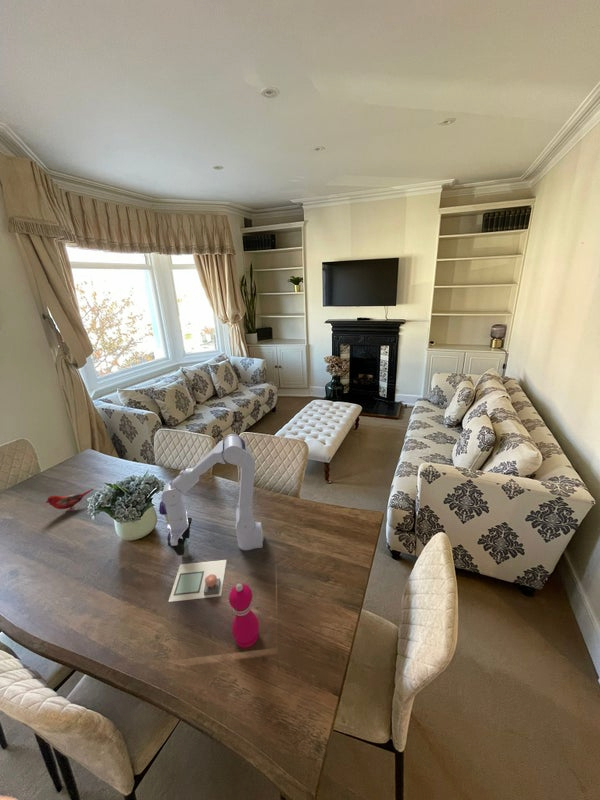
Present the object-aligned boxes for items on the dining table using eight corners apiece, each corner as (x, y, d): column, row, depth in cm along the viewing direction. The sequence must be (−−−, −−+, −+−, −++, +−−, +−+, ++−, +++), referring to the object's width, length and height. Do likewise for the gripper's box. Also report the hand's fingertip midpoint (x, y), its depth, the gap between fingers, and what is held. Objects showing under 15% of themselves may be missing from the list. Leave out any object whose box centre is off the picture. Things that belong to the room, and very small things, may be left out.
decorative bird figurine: (50, 516, 142) (43, 497, 139) (96, 498, 153) (90, 480, 149) (51, 519, 140) (43, 500, 137) (97, 501, 151) (91, 483, 147)
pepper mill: (235, 626, 93) (226, 574, 86) (260, 623, 93) (253, 571, 86) (232, 653, 86) (222, 599, 79) (259, 650, 87) (252, 596, 80)
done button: (218, 580, 105) (217, 573, 104) (216, 589, 102) (215, 583, 101) (207, 581, 105) (206, 575, 104) (205, 591, 101) (203, 584, 100)
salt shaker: (191, 553, 119) (188, 538, 116) (189, 560, 116) (186, 544, 114) (183, 554, 119) (179, 539, 116) (181, 561, 116) (177, 545, 113)
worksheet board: (226, 561, 114) (226, 556, 114) (221, 598, 101) (220, 592, 101) (180, 566, 114) (179, 561, 113) (169, 604, 100) (167, 598, 100)
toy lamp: (174, 542, 124) (166, 506, 119) (163, 540, 125) (154, 505, 120) (181, 533, 129) (173, 498, 123) (170, 531, 130) (162, 497, 124)
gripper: (171, 502, 117) (177, 532, 122) (157, 531, 104) (166, 563, 108) (190, 500, 118) (196, 530, 122) (180, 529, 104) (187, 561, 109)
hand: (183, 545), depth 115 cm, fingers open, 7 cm apart
